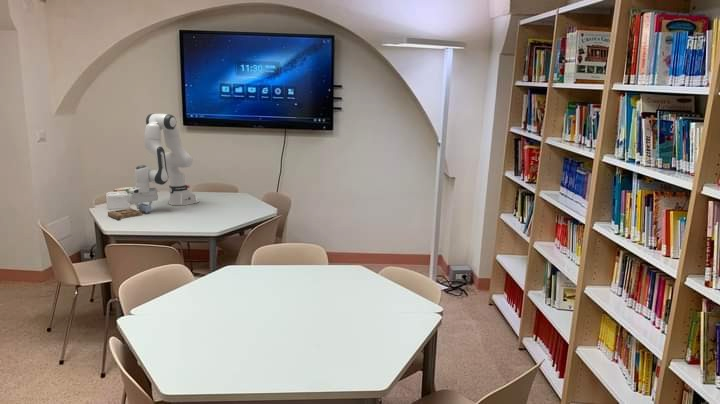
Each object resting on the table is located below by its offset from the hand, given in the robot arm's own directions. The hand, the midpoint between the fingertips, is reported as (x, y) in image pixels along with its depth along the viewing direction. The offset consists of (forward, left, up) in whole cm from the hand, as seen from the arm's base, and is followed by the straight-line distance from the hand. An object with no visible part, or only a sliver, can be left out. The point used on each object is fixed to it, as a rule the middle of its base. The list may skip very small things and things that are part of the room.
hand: (143, 208), depth 357 cm
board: (+13, 0, -4) cm, 14 cm away
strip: (0, 0, -3) cm, 3 cm away
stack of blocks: (-6, -36, -4) cm, 37 cm away
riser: (0, 0, -4) cm, 4 cm away
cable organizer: (+7, -25, -4) cm, 26 cm away
